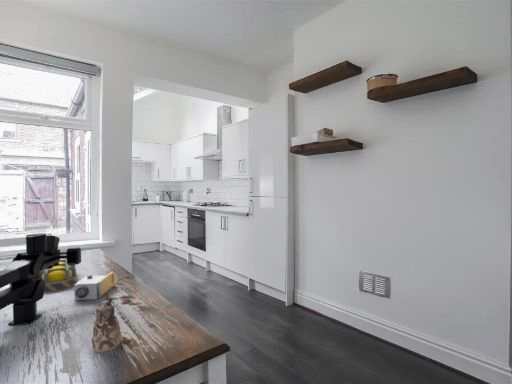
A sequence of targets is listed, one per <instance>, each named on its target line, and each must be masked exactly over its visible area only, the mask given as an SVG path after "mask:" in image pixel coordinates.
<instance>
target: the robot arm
mask: <svg viewBox="0 0 512 384" xmlns="http://www.w3.org/2000/svg"><path fill="white" fill-rule="evenodd" d="M59 245H60V237H59V236H55V235H47V233H45V232H44V233H43V232H42V233H41V232H40V233H37V232H36V233H30V234H26V235H25V248H26V249H25V250H26V251H25V252H17V254H16V256H15V257H13V258H12V261H11V262H10V263H8V264H7V265H6V266H5V268H4V269H2V270H0V289H2V288H4V287H6V286H8V285H9V286H8V287H7V288H5V289H2V290H0V310H3V309H5V308H6V307H8V306H10V305H12V314H13V315H12V317H13V319H12V320H10V321H9V322H8V323H7V325H8V326H14V325H15V326H16V325H30V324H31V323H33V322H34V321H36V320H37V319H39V318H40V317H41V316H42V315H43V314H42V313H38V307H37V304H38V303H37V302H39V301H40V300H42V299H43V298H44V294H45V292H44V288H45V281H44V280H43V279H42V277H41V276H40V271H43V270H45V269H52V268H53V266H58V265H59V261H60V260H63V259H66V258H67V264H68V265H75V266H76V265H79V264H81V263H82V249H81V247H69V248H67V250H66V251H61V249H60V248H59Z"/></svg>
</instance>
